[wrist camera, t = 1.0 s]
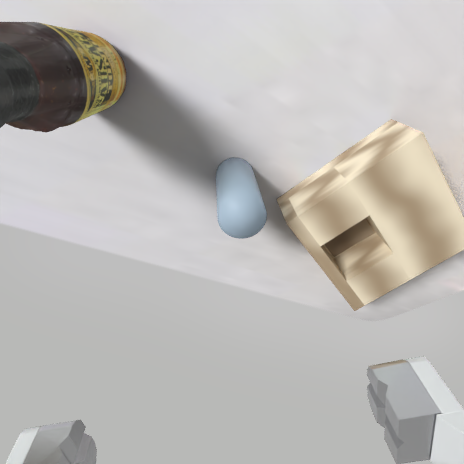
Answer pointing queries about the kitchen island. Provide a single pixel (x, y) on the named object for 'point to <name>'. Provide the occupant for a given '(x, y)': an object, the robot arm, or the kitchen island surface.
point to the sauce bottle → (55, 75)
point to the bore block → (376, 214)
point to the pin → (239, 199)
